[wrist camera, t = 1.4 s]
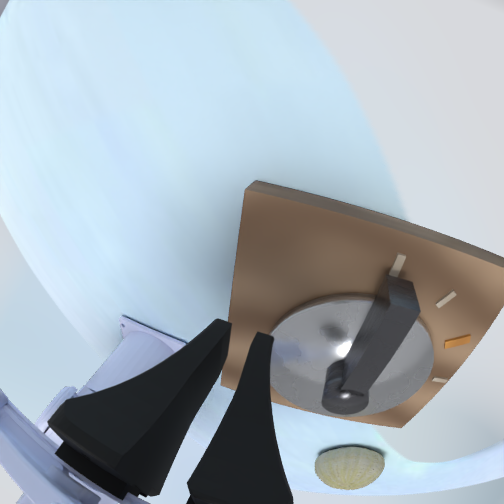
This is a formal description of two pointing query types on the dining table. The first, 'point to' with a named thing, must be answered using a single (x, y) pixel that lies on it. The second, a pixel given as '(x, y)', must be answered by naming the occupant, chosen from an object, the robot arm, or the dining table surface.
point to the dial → (352, 351)
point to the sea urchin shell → (349, 467)
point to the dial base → (356, 279)
